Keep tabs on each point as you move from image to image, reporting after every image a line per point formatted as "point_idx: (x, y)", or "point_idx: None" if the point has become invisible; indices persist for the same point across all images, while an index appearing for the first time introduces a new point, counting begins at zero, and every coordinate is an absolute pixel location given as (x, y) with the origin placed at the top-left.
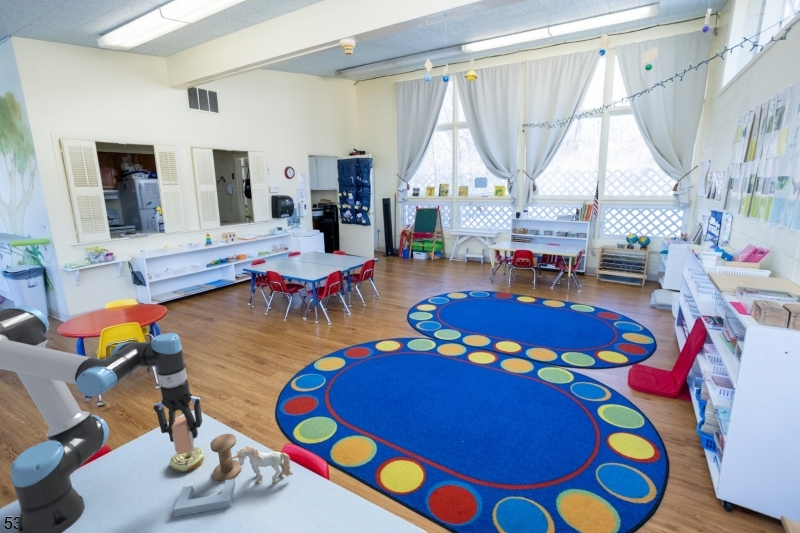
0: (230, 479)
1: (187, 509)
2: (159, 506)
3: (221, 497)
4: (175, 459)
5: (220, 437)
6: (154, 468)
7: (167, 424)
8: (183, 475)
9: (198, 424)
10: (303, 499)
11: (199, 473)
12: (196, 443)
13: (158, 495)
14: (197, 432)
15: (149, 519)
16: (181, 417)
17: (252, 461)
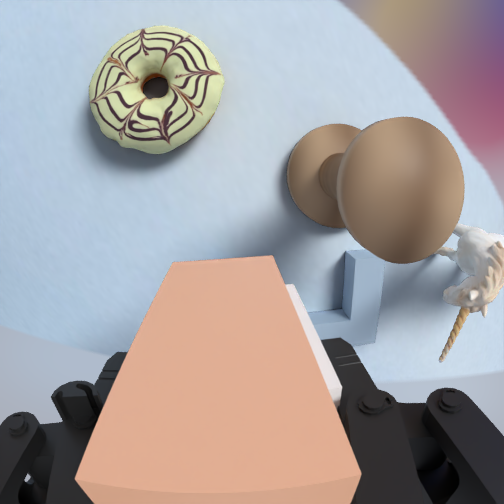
0: (372, 258)
1: None
2: (145, 302)
3: (352, 332)
4: (109, 110)
5: (391, 146)
6: (47, 114)
7: (24, 460)
8: (164, 161)
9: (432, 473)
10: (498, 316)
11: (226, 159)
12: (293, 285)
13: (116, 253)
14: (356, 359)
15: None
16: (175, 501)
17: (473, 273)
